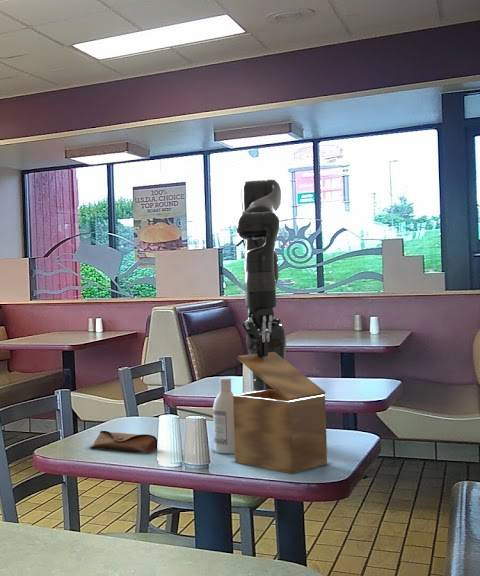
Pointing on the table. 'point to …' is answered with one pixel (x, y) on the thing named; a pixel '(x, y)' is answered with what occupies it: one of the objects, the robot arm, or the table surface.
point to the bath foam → (224, 419)
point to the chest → (280, 431)
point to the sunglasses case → (125, 442)
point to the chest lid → (281, 376)
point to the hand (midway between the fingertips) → (262, 356)
